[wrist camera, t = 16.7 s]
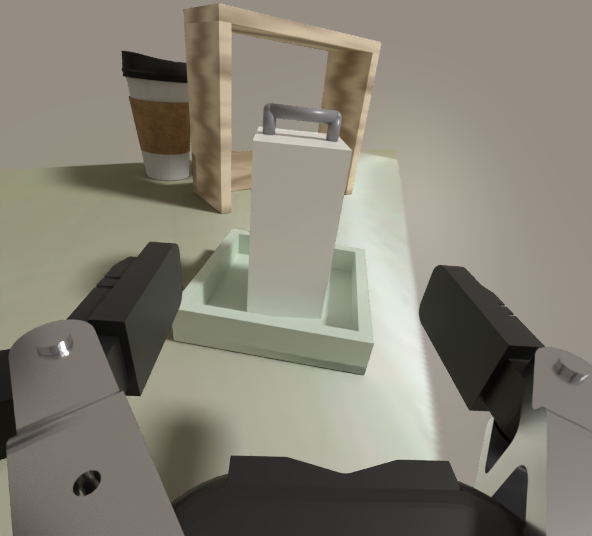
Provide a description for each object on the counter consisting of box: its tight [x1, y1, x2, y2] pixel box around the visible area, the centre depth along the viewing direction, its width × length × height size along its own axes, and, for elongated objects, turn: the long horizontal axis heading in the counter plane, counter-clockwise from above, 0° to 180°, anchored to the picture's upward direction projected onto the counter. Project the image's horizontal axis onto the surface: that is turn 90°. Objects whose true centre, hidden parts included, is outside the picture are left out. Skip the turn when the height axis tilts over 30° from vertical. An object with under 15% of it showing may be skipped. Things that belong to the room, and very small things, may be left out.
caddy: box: [247, 103, 352, 319], centre depth 21 cm, size 5×5×13 cm
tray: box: [172, 229, 374, 375], centre depth 24 cm, size 12×12×2 cm
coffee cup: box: [122, 51, 190, 181], centre depth 44 cm, size 8×8×15 cm
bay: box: [183, 3, 381, 214], centre depth 41 cm, size 8×22×19 cm, turn 127°
